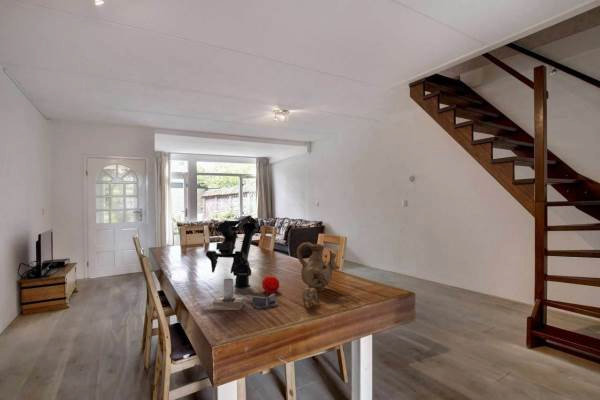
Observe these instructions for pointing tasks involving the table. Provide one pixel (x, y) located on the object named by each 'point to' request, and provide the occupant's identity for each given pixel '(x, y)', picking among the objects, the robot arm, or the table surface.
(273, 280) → the ball
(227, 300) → the axle
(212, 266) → the robot arm
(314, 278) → the ceramic vessel
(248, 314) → the table surface
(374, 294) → the table surface
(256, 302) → the V-block
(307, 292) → the lion figurine
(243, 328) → the table surface
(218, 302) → the block with rectangular hole
